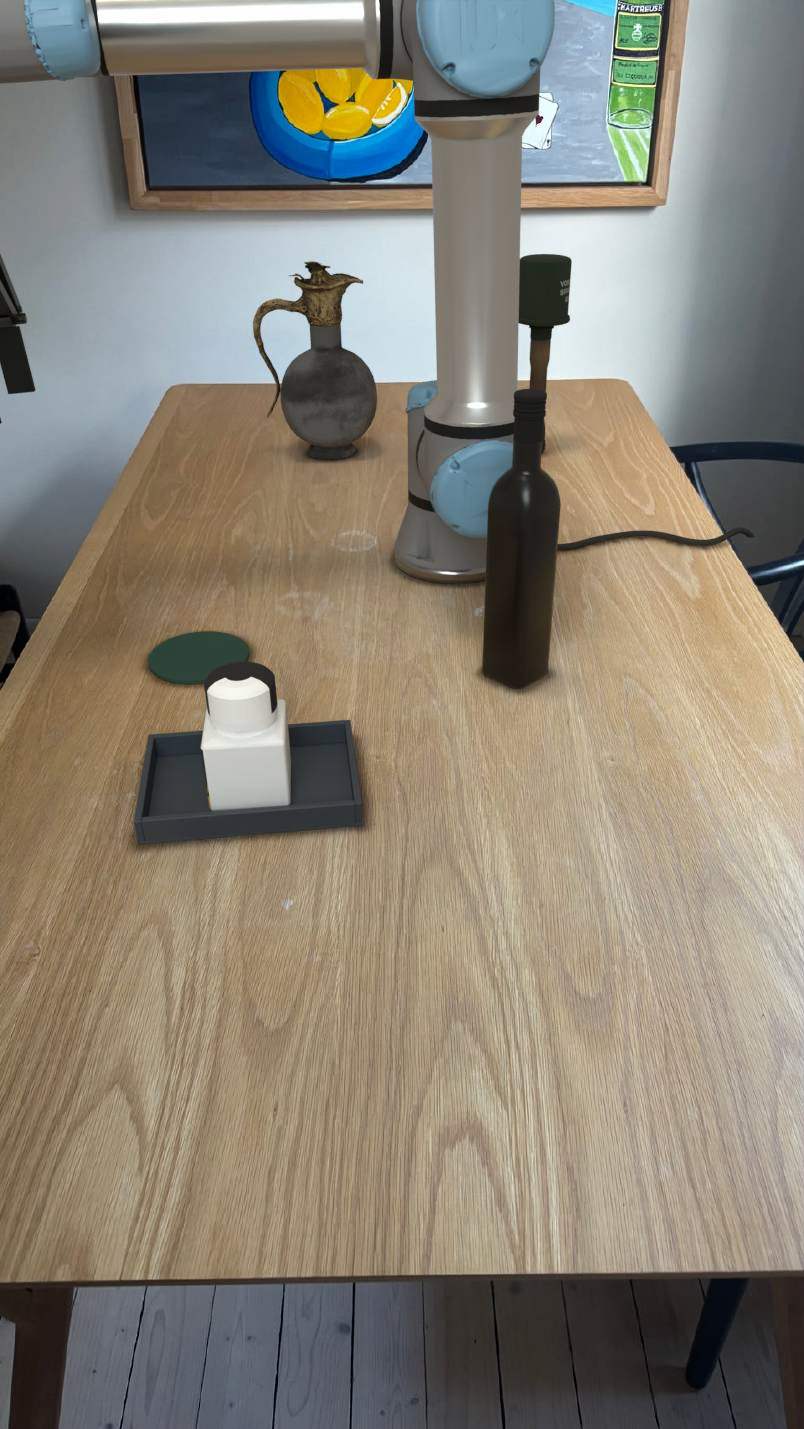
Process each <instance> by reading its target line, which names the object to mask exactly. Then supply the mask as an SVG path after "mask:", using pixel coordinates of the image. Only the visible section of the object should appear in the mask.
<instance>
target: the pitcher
mask: <svg viewBox="0 0 804 1429" xmlns="http://www.w3.org/2000/svg"><path fill="white" fill-rule="evenodd" d="M303 264H305V265H304V268H305V269H307V270H308V272H309V274H310V277H308V278H305V277H304V276H302V275H301V274H299V273H294V274H289V275H288V277H294V280H293V284H294V285H295V286H296V287H297V288H300V290H301V291H302V292H301V296H300V297H299V298H298V299H297V300H287V299H283V298H271V299H269V300H266V301H264V302H263V303H261V304H260V305H259V306H258V308H257V310H256V312H255V314H254V316H253V320H252V332H253V333H252V334H253V338H254V340H255V343H256V346H257V348H258V351H259V355H260V356H261V358H262V359H263V361H264V363H265V365H266V367H267V369H268V370H269V372H270V373H271V375H272V378H273V381H274V383H275V385H276V387H275V395H274V399H273V402H272V403H271V405H270V408H269V409H268V412H267V419H269V417H270V416H271V414H272V413H273V411H274V409H275V406H276V404H277V403H278V399H279V397H280V406H281V410H282V414H283V417H284V419H285V422H286V423H287V425H288V427H289V429H290V430H291V432H293V433H294V435H295V436H296V437H298V438H299V439H300V440H302V441H303V442H305V443H307V444H309V446H308V449H307V453H308V455H309V456H310V457H311V458H314V459H319V460H331V461H333V460H340V459H345V458H349V457H351V456H353V455H355V453H356V446H355V445H354V444H353V443H354V442H356V441H358V440H359V439H361V437H363V436H364V435H365V434H366V433H367V432H368V430H369V429H370V427H371V426H372V423H373V422H374V419H375V416H376V411H377V408H378V407H377V406H378V392H377V390H378V389H377V385H376V381H375V378H374V375H373V373H372V371H371V369H370V367H369V365H368V364H367V363H366V362H365V361H364V360H363V358H362V357H361V356H359V355H358V354H356V352H353V351H351V350H348V349H346V348H344V347H343V344H342V320H343V310H342V309H343V308H342V302H343V297H344V295H345V293H346V292H347V289H348V288H349V287H350V286H351V285H353V284H361V285H363V284H364V280H363V279H360V278H359V277H356V276H354V275H350V274H348V273H344V272H340V273H339V272H338V273H332V274H331V273H330V272H328V270H326V269H330V268H332V267H331V265H325V264H323V263H322V262H321V263H320V262H318V261H314V260H313V261H304V263H303ZM277 310H281V311H285V312H289V313H298V314H301V315H303V316H304V317H305V318H306V321H307V323H308V325H309V339H310V348H309V349H307V350H305V351H303V352H302V353H300V354H298V355H297V356H295V358H293V360H291V362H290V363H289V365H288V366H287V367H286V369H285V372H284V373H283V376H282V379H281V383H280V378H279V375H278V372H277V370H276V369H275V366H274V364H273V363H272V361H271V359H270V357H269V356H268V354H267V352H266V350H265V345H264V344H265V343H264V342H263V338H262V333H261V332H262V331H261V329H262V328H261V326H262V321H263V319H264V317H265V316H266V315H268V314H269V313H271V312H274V311H277Z"/></svg>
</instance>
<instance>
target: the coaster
mask: <svg viewBox="0 0 804 1429" xmlns="http://www.w3.org/2000/svg"><path fill="white" fill-rule="evenodd" d="M249 657H250V651H249V647H248V645H247V643H246V642H245V641H244V640H243V639H241V638H240V637H239V636H236V635H233V634H230V633H226V632H222V631H214V630H212V631H211V630H209V631H208V630H204V631H193V632H187V633H182V634H179V635H175V636H172V637H171V638H168V639H166V640H164V641H162V642H160V643H159V644H158V645H156V646H155V647H154V648H153V649H152V650H151V652H150V653H149V655H148V661H147V663H148V667H149V670H150V671H151V672H152V674H153V675H155V676H156V677H157V678H159V679H161V680H163V681H167V682H170V683H175V684H181V685H200V684H204V681H205V679H206V677H207V676H208V675H209V674H210V673H211V672H212V671H213V670H214V669H216V668H218V667H220V666H222V665H225V664H228V663H233V662H248V661H249Z"/></svg>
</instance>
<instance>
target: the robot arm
mask: <svg viewBox="0 0 804 1429" xmlns="http://www.w3.org/2000/svg"><path fill="white" fill-rule="evenodd" d="M555 8H556V7H555V0H0V84H18V83H32V82H44V81H60V82H66V81H71V80H74V79H76V78H103V77H115V76H116V77H117V76H118V77H119V76H145V75H146V76H147V75H148V76H150V75H179V74H181V75H182V74H183V75H184V74H212V73H213V74H215V73H217V74H218V73H247V72H249V73H250V72H279V71H282V72H283V71H284V72H285V71H315V70H345V69H346V70H347V69H349V70H350V69H361V70H363V71H364V72H365V73H366V74H367V76H369V77H370V79H371V80H401V81H402V80H403V81H410V82H411V81H412V82H413V107H414V108H413V109H414V120H415V122H416V123H417V124H418V125H419V126H420V127H421V128H422V129H423V130H424V131H425V133H426V134H428V137H429V138H430V141H431V142H430V144H431V146H430V147H431V182H432V183H431V184H432V227H433V229H432V230H433V232H432V233H433V267H434V268H433V270H434V271H433V272H434V306H435V307H434V311H435V312H434V313H435V316H434V317H435V352H436V353H435V354H436V355H435V356H436V360H435V361H436V379H434V380H433V379H432V380H427V381H422V382H419V383H416V384H414V385H413V386H411V387H410V389H409V390H408V393H407V402H406V403H407V404H406V407H405V414H406V415H407V419H406V420H407V506H406V509H405V512H404V515H403V518H402V520H401V524H400V527H399V530H398V534H397V537H396V540H395V543H394V562H395V565H396V566H397V567H398V568H399V569H400V570H401V571H402V572H403V573H405V574H407V575H409V576H411V577H414V578H417V579H420V580H423V581H428V582H431V583H432V582H433V583H439V584H465V583H467V584H469V583H475V582H480V581H485V573H486V546H487V518H488V501H489V496H490V493H491V490H492V487H493V486H494V484H495V483H496V481H497V479H498V478H499V477H501V476H502V475H503V474H504V473H505V472H506V471H507V470H509V469H510V468H511V467H512V459H513V441H514V440H513V435H514V416H513V410H514V392H516V391H517V390H519V389H518V380H519V379H518V378H519V377H518V374H519V373H518V372H519V371H518V370H519V363H518V362H519V325H520V324H519V275H520V258H521V222H522V221H521V220H522V218H521V217H522V207H521V206H522V168H523V166H522V163H523V136H524V133H525V132H526V130H527V129H528V127H530V125H531V124H532V123H533V122H534V121H535V119H536V118H537V117H538V116H539V114H540V92H541V91H540V90H541V67H542V65H543V63H544V61H545V60H546V58H547V55H548V52H549V49H550V47H551V45H552V44H551V43H552V40H553V35H554V30H555V22H556V9H555ZM27 323H28V318H27V315H26V312H23V307H22V305H21V303H20V300H19V297H18V294H17V292H16V290H15V287H14V285H13V282H12V280H11V277H10V275H9V272H8V269H7V267H6V265H5V261H4V260H3V257H2V254H1V253H0V368H1V372H2V375H3V379H4V383H5V384H4V385H5V387H6V391H7V395H14V394H16V395H17V394H25V393H27V394H28V393H35V392H36V386H35V381H34V378H33V373H32V370H31V366H30V362H29V359H28V354H27V350H26V346H25V342H24V339H23V335H22V330H21V327H20V325H26V324H27ZM2 423H3V422H2V418H1V417H0V425H2ZM739 534H742V535H744V536H745V537H746V538H755V535H754V533H753V532H752V531H751V530H750V529H748V528H746V527H734V528H733V529H730V530H728V531H727V532H725V533H724V534H722V535H719V536H717V537H714V538H709V539H696V538H690V537H684V536H680V535H677V534H672V533H669V532H665V531H664V532H663V531H658V530H625V531H619V532H613V533H607V534H600V535H596V536H590V537H588V538H584V539H581V540H577V541H574V542H573V541H572V542H567V543H558V547H557V551H567V550H575V549H578V548H582V547H585V546H589V545H593V544H596V543H601V542H607V541H613V540H619V539H626V538H638V537H639V538H640V537H641V538H646V537H647V538H658V539H664V540H668V541H671V542H675V543H678V544H679V543H680V544H684V545H688V546H697V547H711V546H715V545H718V544H722V543H724V542H725V541H727V540H729V539H730V538H732V537H734V536H736V535H739Z"/></svg>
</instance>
